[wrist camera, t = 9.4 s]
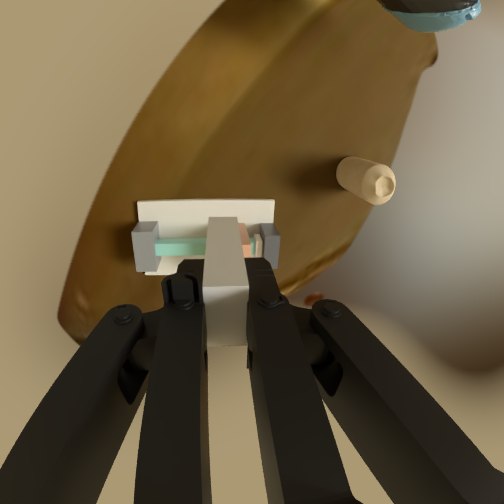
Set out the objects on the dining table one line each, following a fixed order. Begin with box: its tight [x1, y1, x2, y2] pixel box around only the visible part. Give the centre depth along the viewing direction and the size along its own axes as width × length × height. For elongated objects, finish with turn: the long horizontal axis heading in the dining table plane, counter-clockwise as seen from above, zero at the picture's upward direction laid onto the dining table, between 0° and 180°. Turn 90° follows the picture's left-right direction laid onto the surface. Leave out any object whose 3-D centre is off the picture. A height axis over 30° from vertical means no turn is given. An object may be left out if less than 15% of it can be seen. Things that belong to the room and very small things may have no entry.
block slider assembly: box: [131, 199, 280, 275], centre depth 40 cm, size 12×20×6 cm, turn 87°
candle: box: [336, 156, 396, 205], centre depth 37 cm, size 6×6×10 cm
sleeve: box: [238, 223, 251, 258], centre depth 39 cm, size 5×4×8 cm
